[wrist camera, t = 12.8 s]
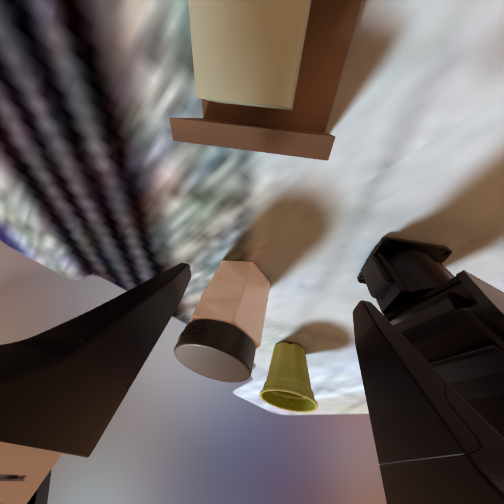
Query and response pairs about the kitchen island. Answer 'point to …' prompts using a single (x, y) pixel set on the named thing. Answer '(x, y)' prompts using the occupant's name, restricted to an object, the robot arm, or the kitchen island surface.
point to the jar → (226, 324)
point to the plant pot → (289, 380)
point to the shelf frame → (305, 101)
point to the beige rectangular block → (248, 50)
